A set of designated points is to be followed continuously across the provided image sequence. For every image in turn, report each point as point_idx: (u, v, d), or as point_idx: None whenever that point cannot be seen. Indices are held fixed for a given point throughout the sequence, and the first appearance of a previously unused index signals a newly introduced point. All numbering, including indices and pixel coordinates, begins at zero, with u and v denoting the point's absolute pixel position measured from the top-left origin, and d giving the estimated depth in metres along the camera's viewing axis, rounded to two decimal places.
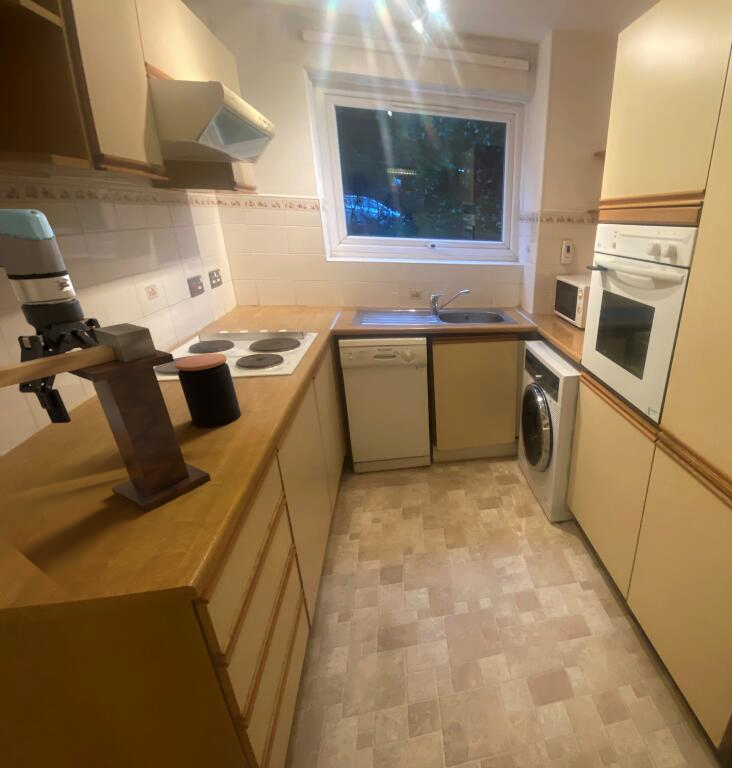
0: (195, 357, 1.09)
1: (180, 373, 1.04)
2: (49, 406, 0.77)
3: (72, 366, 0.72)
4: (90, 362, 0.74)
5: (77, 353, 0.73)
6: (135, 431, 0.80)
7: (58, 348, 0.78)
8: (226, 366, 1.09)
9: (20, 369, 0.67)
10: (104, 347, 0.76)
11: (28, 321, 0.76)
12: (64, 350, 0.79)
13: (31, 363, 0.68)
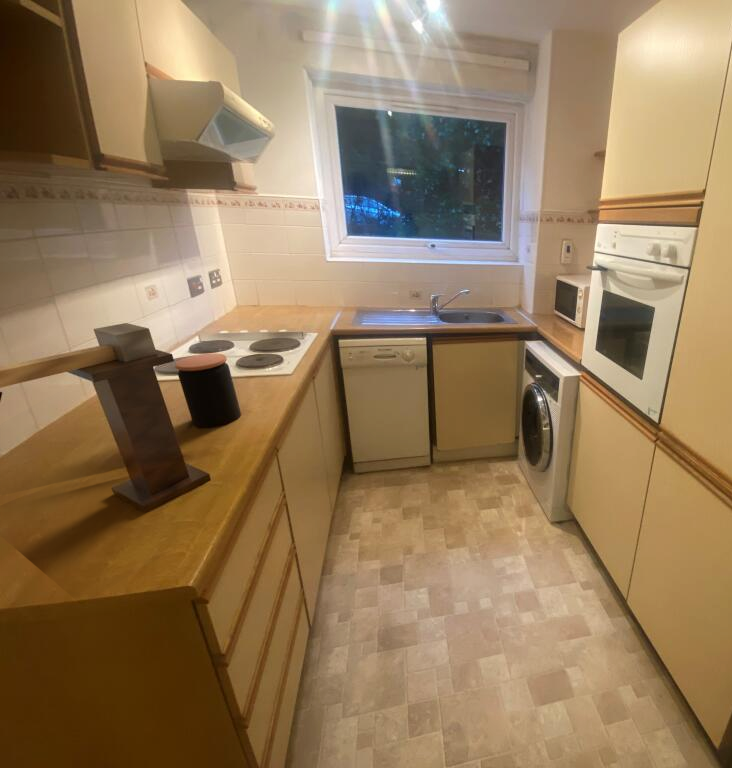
0: (195, 357, 1.09)
1: (180, 373, 1.04)
2: None
3: (72, 366, 0.72)
4: (90, 362, 0.74)
5: (77, 353, 0.73)
6: (135, 431, 0.80)
7: None
8: (226, 366, 1.09)
9: (20, 368, 0.67)
10: (104, 347, 0.76)
11: None
12: None
13: (31, 363, 0.68)
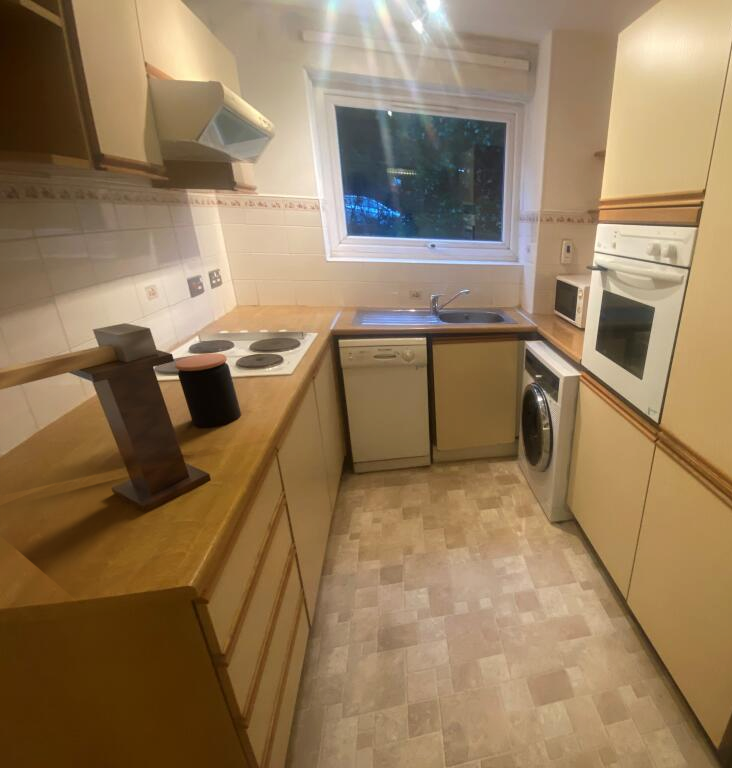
0: (195, 357, 1.09)
1: (180, 373, 1.04)
2: None
3: (74, 366, 0.72)
4: (92, 362, 0.74)
5: (79, 353, 0.73)
6: (135, 431, 0.80)
7: None
8: (226, 366, 1.09)
9: (23, 369, 0.67)
10: (105, 347, 0.76)
11: None
12: None
13: (33, 364, 0.68)
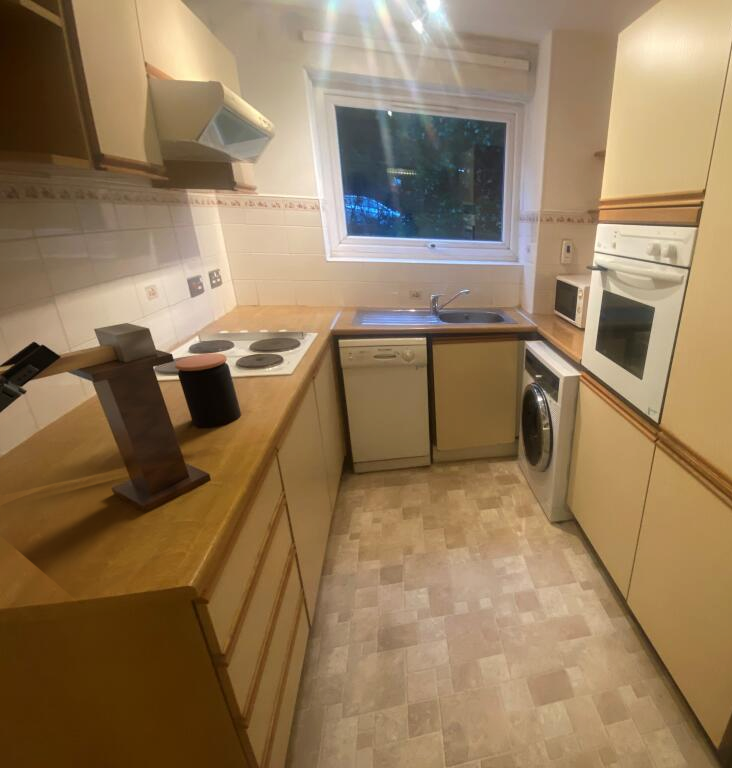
0: (195, 357, 1.09)
1: (180, 373, 1.04)
2: (27, 367, 0.66)
3: (73, 366, 0.72)
4: (91, 362, 0.74)
5: (78, 353, 0.73)
6: (135, 431, 0.80)
7: None
8: (226, 366, 1.09)
9: None
10: (105, 347, 0.76)
11: None
12: None
13: None
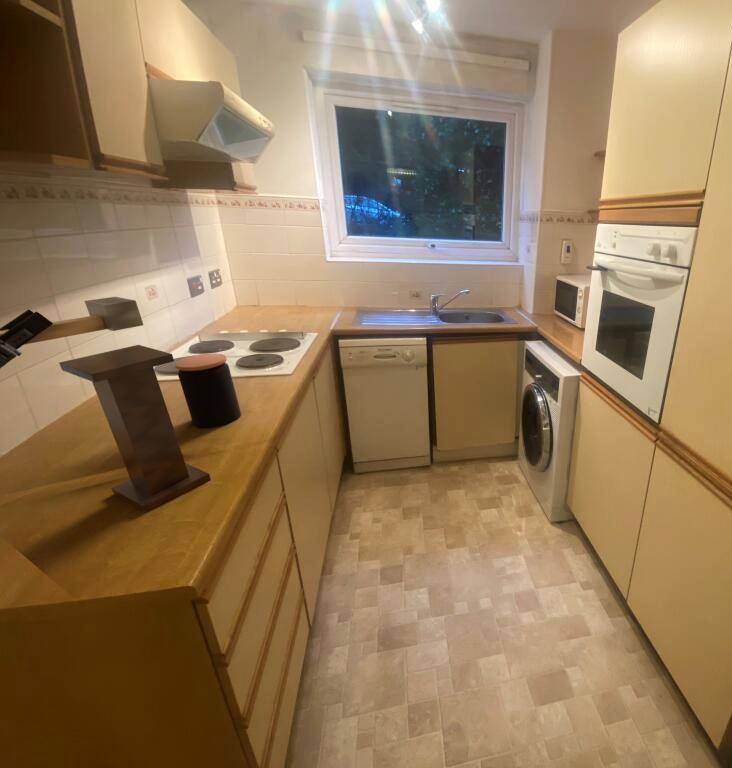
0: (195, 357, 1.09)
1: (180, 373, 1.04)
2: (22, 331, 0.73)
3: (64, 333, 0.78)
4: (81, 330, 0.80)
5: (69, 321, 0.79)
6: (135, 431, 0.80)
7: None
8: (226, 366, 1.09)
9: None
10: (94, 317, 0.82)
11: None
12: None
13: None
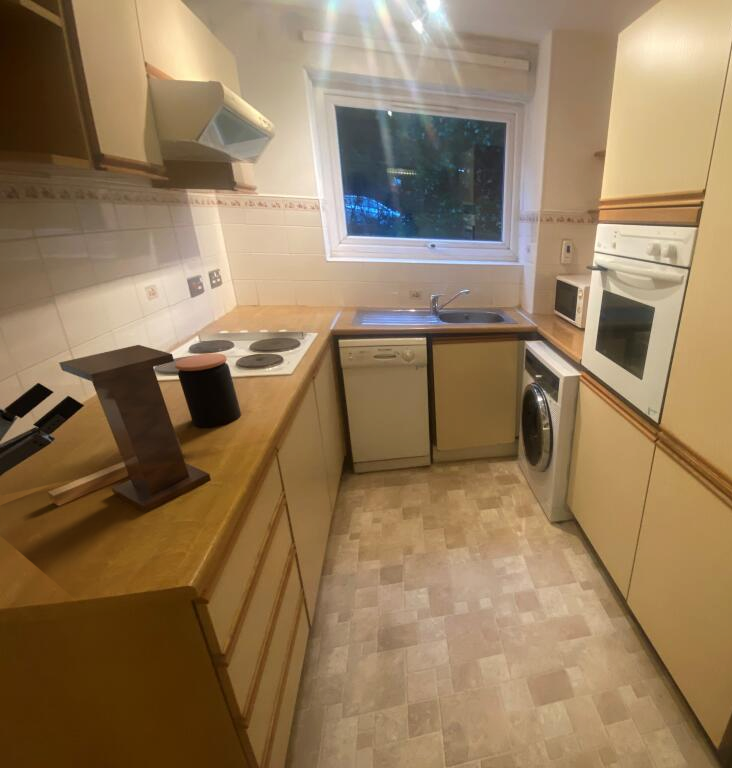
0: (195, 357, 1.09)
1: (180, 373, 1.04)
2: (56, 417, 0.76)
3: (119, 476, 0.91)
4: None
5: (123, 465, 0.92)
6: (135, 431, 0.80)
7: None
8: (226, 366, 1.09)
9: (82, 485, 0.86)
10: None
11: None
12: None
13: (90, 479, 0.87)
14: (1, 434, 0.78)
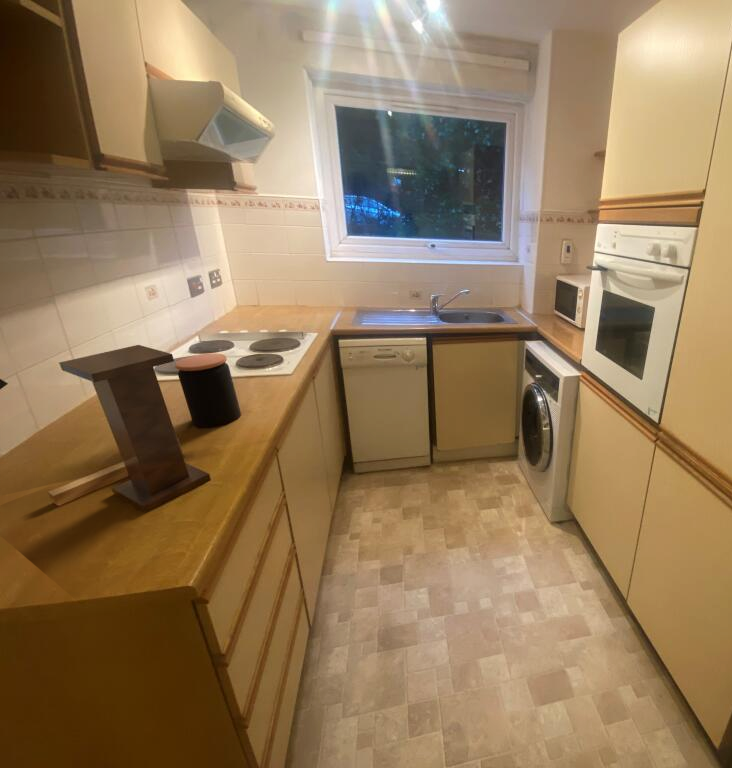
0: (195, 357, 1.09)
1: (180, 373, 1.04)
2: None
3: (119, 476, 0.91)
4: None
5: (123, 465, 0.92)
6: (135, 431, 0.80)
7: None
8: (226, 366, 1.09)
9: (82, 485, 0.86)
10: None
11: None
12: None
13: (90, 479, 0.87)
14: None
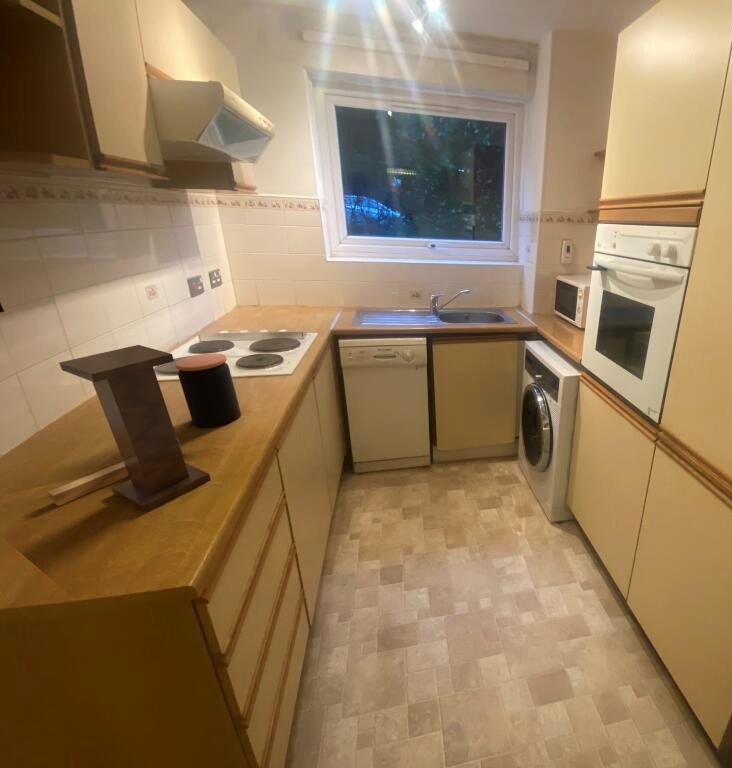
0: (195, 357, 1.09)
1: (180, 373, 1.04)
2: None
3: (119, 476, 0.91)
4: None
5: (123, 465, 0.92)
6: (135, 431, 0.80)
7: None
8: (226, 366, 1.09)
9: (82, 485, 0.86)
10: None
11: None
12: None
13: (90, 479, 0.87)
14: None
